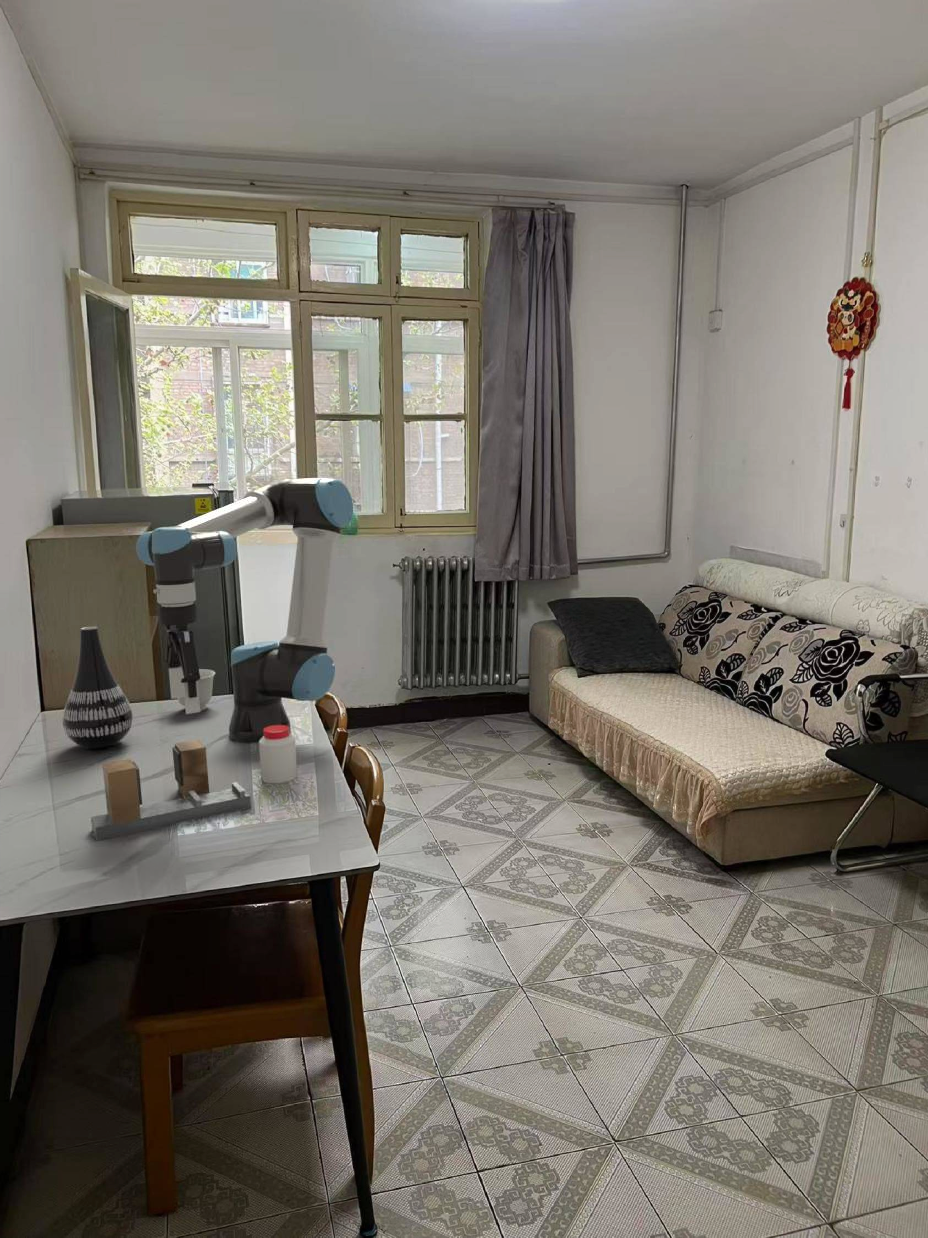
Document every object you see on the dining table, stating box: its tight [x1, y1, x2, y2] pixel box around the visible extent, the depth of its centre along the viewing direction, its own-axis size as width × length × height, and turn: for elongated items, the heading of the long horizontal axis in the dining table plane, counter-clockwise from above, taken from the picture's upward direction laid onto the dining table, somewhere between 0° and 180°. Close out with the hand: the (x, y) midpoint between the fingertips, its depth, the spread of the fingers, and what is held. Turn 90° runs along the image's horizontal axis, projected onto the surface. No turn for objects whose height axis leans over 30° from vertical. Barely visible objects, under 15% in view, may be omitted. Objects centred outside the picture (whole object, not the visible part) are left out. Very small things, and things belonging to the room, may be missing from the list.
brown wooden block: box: [172, 739, 210, 798], centre depth 193 cm, size 6×6×10 cm
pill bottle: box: [258, 725, 298, 784], centre depth 200 cm, size 8×8×11 cm
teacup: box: [177, 668, 216, 712], centre depth 254 cm, size 12×15×10 cm
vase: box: [62, 626, 134, 751], centre depth 223 cm, size 16×16×30 cm
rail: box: [90, 758, 252, 842], centre depth 178 cm, size 29×6×12 cm, turn 120°
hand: (185, 705), depth 191 cm, fingers open, 13 cm apart
